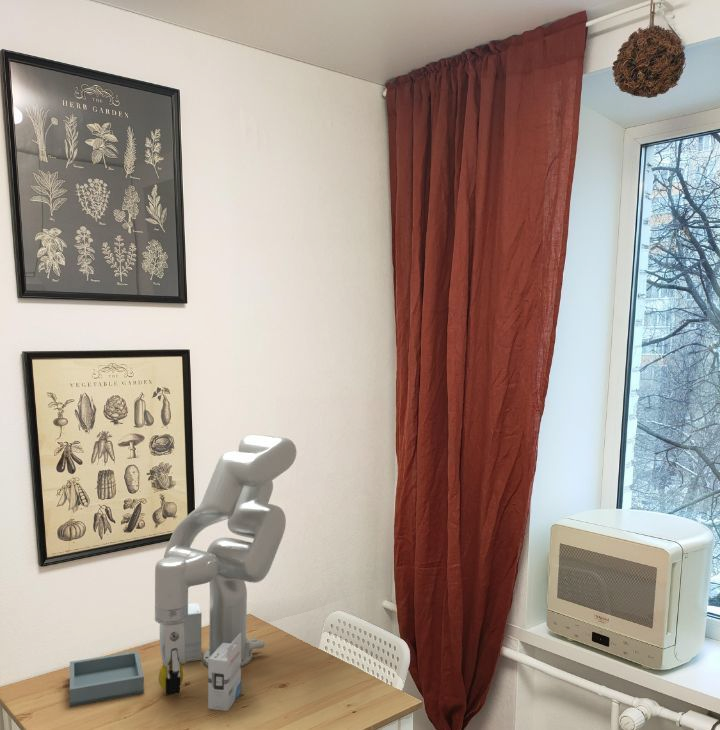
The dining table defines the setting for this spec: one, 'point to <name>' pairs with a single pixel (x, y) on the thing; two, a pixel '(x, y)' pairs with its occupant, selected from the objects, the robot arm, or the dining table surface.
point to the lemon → (164, 675)
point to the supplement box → (193, 633)
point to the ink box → (224, 675)
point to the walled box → (105, 678)
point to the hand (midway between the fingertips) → (171, 686)
